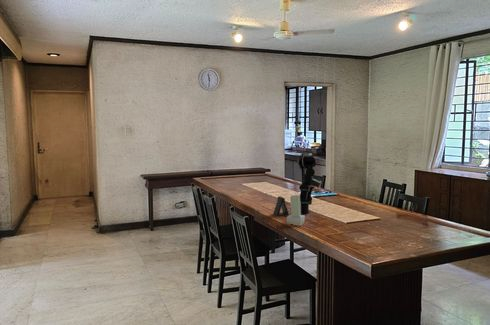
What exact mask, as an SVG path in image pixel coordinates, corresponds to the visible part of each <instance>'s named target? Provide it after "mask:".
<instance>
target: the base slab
mask: <svg viewBox="0 0 490 325" xmlns="http://www.w3.org/2000/svg"><path fill="white" fill-rule="evenodd" d="M304 223H305V220H303V221H302V222H301V223H299V222H290V221H287V220H286V225H290V224H293V225H292V226H300V225H301V226H302V225H303V224H304Z"/></svg>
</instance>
